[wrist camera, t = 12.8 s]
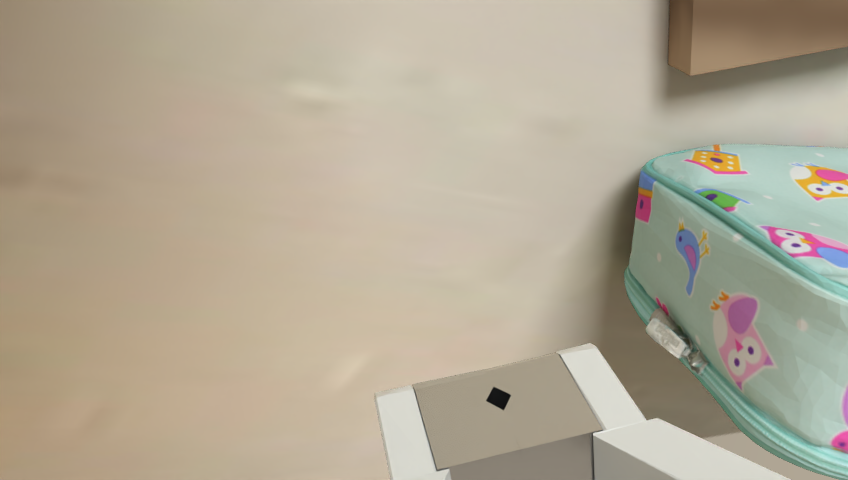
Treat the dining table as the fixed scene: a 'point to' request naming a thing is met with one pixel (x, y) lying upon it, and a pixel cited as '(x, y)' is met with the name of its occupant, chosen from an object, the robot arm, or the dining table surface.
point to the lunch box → (753, 287)
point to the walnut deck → (751, 31)
